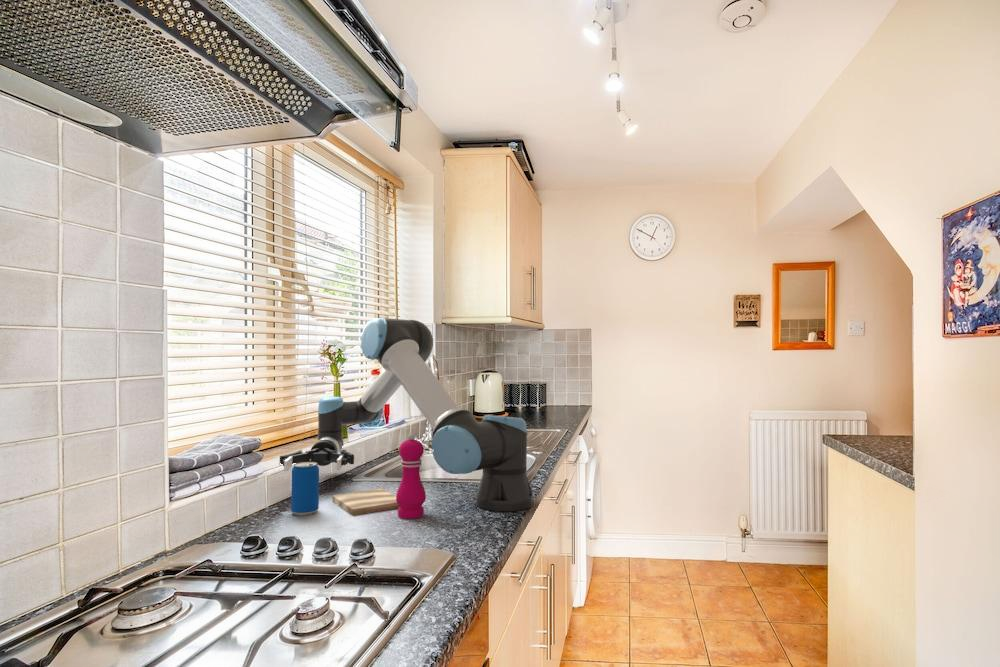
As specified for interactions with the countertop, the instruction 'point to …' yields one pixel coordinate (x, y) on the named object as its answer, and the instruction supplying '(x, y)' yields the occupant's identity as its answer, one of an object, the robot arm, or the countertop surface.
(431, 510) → the countertop surface
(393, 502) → the wooden cutting board
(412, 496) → the pepper mill
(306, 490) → the beverage can
